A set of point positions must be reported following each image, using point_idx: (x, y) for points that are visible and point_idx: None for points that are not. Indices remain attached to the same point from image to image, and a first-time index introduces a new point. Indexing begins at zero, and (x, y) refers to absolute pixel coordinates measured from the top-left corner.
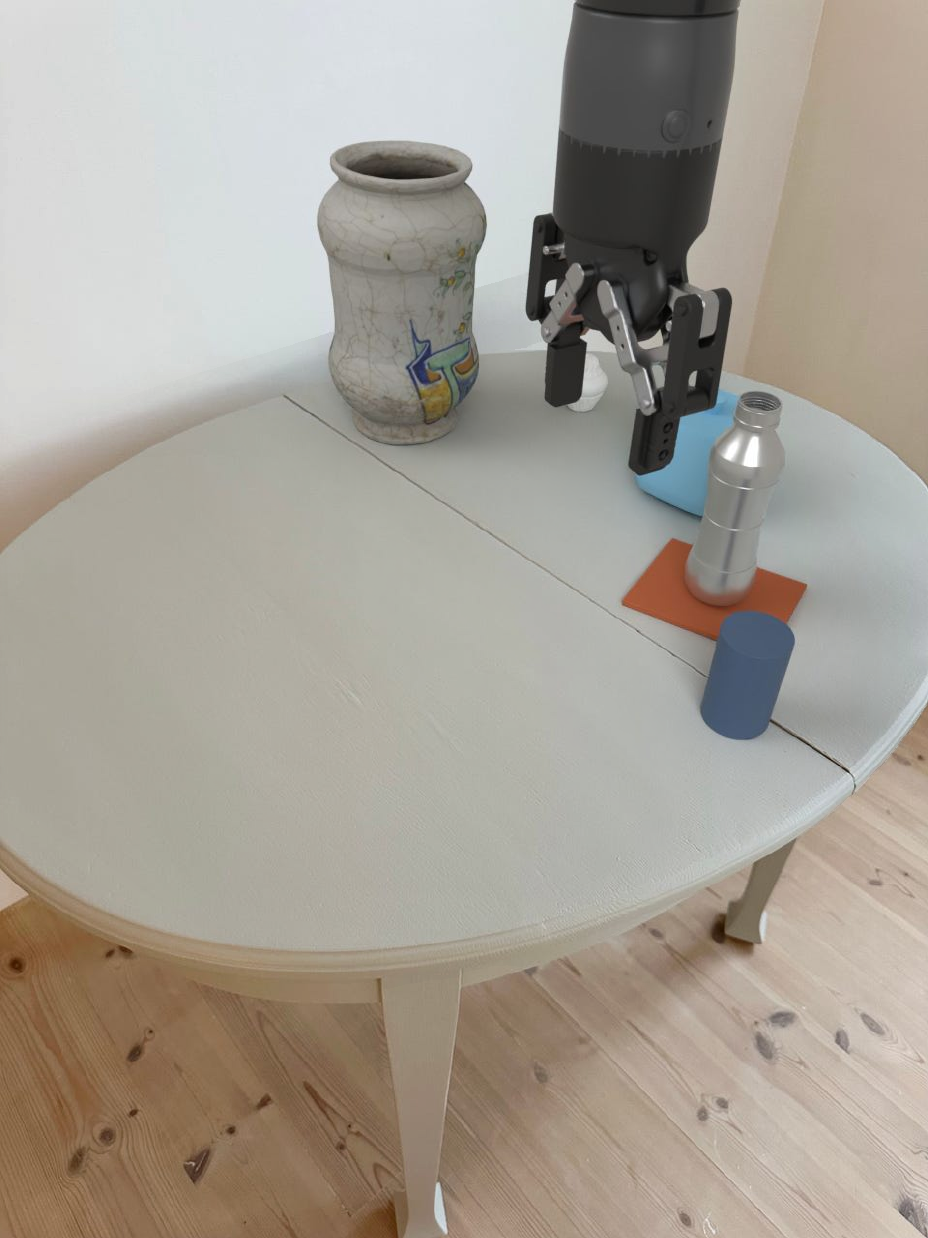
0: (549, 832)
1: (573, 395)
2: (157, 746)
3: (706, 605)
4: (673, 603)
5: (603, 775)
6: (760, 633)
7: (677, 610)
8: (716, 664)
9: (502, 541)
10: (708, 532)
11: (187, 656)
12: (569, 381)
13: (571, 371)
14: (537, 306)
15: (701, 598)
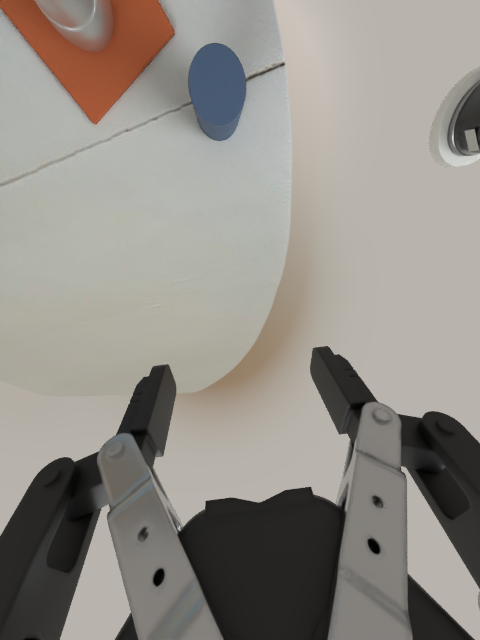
0: (249, 259)
1: (168, 375)
2: None
3: None
4: (100, 76)
5: (231, 222)
6: (218, 83)
7: (109, 79)
8: (213, 130)
9: (12, 179)
10: (52, 1)
11: (120, 353)
12: (166, 396)
13: (163, 406)
14: (97, 517)
15: (103, 48)
